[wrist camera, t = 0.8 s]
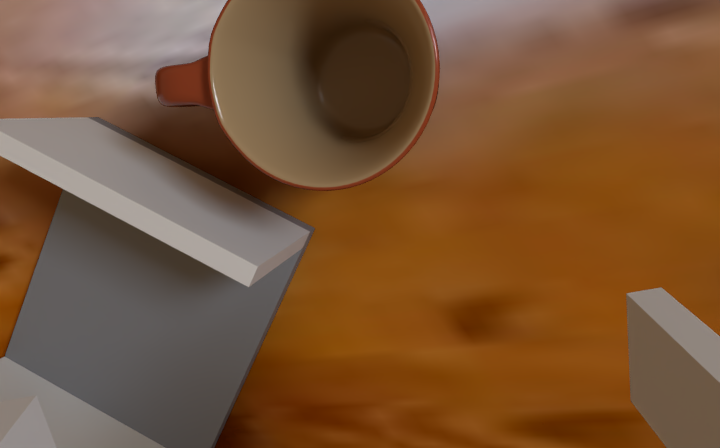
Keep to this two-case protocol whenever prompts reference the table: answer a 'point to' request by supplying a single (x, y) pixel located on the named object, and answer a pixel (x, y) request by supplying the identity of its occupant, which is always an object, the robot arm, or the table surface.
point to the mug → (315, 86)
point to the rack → (141, 289)
